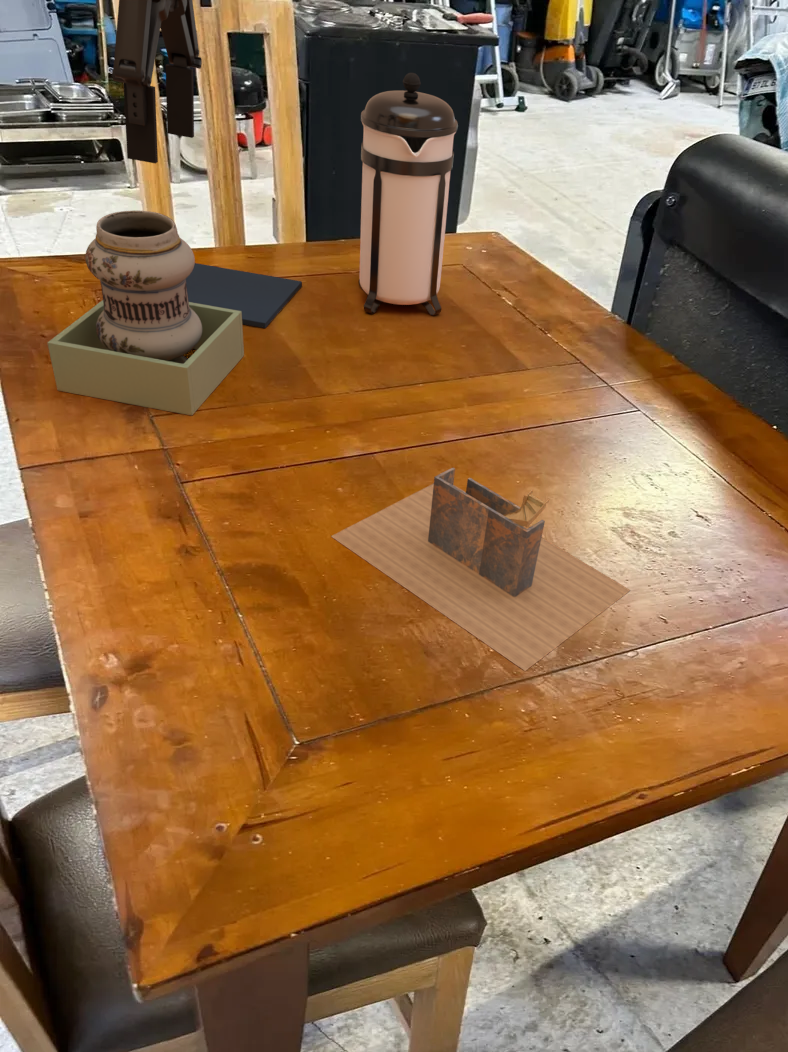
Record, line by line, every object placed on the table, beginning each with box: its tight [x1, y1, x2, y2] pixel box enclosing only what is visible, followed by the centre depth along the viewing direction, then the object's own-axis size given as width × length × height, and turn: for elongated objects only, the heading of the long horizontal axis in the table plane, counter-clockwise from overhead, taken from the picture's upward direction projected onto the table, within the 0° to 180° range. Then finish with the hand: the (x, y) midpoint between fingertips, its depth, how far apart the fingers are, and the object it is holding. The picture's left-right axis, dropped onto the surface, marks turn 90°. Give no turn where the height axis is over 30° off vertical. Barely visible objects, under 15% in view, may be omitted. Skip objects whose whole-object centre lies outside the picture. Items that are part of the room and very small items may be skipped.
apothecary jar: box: [84, 210, 202, 364], centre depth 103 cm, size 12×12×18 cm
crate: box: [47, 299, 245, 416], centre depth 107 cm, size 17×17×6 cm
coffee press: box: [358, 72, 459, 317], centre depth 124 cm, size 17×16×30 cm
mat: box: [186, 262, 303, 329], centre depth 128 cm, size 20×16×1 cm
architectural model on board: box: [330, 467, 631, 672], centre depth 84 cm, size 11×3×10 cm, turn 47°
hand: (162, 147), depth 92 cm, fingers open, 13 cm apart
